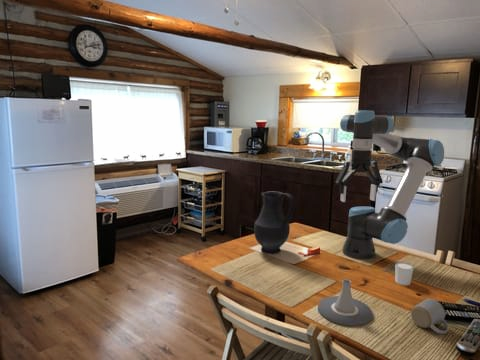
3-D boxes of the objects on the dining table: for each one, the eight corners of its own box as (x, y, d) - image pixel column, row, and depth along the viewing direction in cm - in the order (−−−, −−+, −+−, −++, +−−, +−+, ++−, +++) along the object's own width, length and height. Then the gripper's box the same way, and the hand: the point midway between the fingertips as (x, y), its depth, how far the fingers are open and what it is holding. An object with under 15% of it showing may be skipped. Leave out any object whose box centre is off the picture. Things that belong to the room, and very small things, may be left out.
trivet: (354, 296, 140) (354, 293, 140) (383, 322, 123) (383, 319, 123) (309, 301, 136) (309, 298, 136) (332, 329, 119) (333, 325, 119)
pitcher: (268, 241, 197) (271, 185, 191) (301, 252, 183) (305, 192, 177) (246, 250, 184) (247, 190, 179) (279, 262, 170) (282, 198, 165)
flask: (356, 315, 125) (359, 287, 123) (334, 312, 126) (336, 284, 125) (354, 304, 132) (356, 277, 130) (333, 302, 133) (335, 275, 132)
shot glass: (411, 280, 155) (412, 264, 154) (412, 287, 149) (414, 270, 147) (393, 277, 157) (394, 261, 156) (394, 284, 151) (395, 268, 150)
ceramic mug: (407, 322, 124) (410, 300, 122) (421, 315, 128) (424, 294, 127) (439, 339, 115) (443, 316, 114) (453, 330, 120) (456, 308, 118)
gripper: (338, 150, 145) (334, 204, 148) (394, 150, 150) (389, 201, 154) (329, 148, 152) (325, 199, 156) (383, 148, 158) (379, 197, 161)
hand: (357, 200), depth 155 cm, fingers open, 13 cm apart
